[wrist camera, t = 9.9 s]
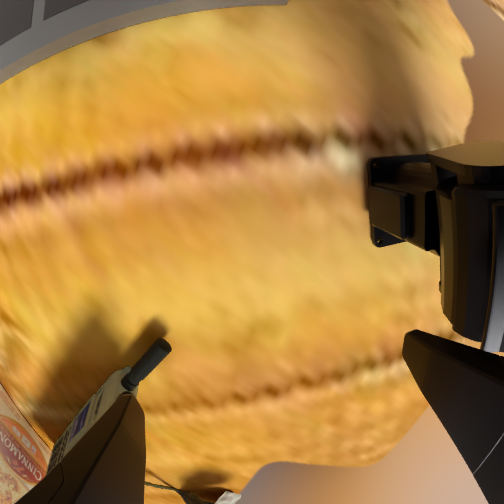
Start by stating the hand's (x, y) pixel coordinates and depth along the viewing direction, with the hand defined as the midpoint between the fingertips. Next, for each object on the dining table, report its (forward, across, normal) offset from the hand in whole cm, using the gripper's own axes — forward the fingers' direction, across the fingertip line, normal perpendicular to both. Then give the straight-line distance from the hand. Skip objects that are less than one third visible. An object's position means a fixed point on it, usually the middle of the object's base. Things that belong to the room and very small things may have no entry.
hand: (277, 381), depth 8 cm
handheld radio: (+12, +16, +13) cm, 24 cm away
